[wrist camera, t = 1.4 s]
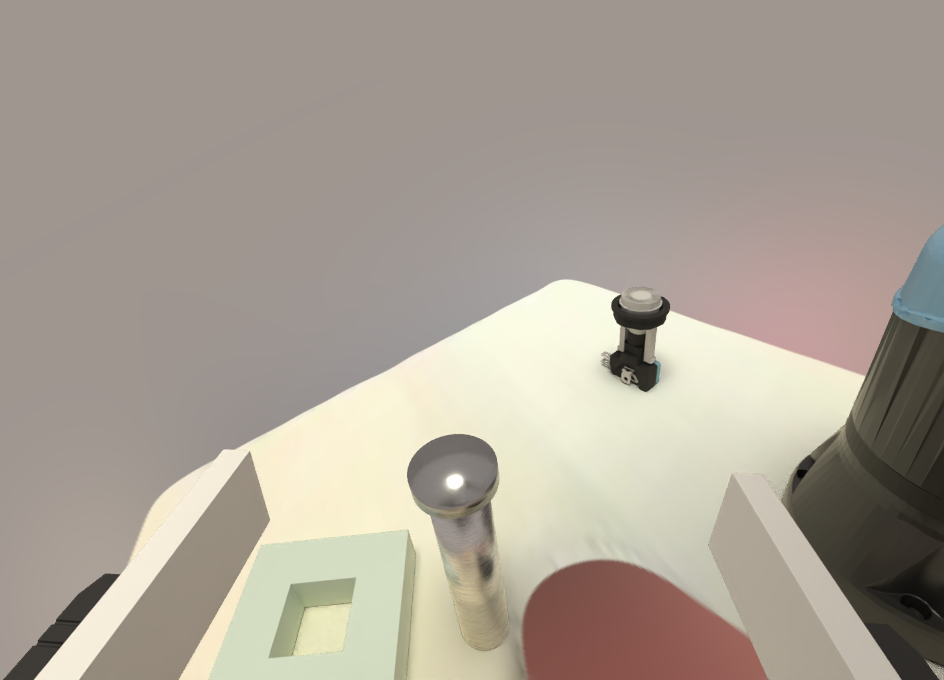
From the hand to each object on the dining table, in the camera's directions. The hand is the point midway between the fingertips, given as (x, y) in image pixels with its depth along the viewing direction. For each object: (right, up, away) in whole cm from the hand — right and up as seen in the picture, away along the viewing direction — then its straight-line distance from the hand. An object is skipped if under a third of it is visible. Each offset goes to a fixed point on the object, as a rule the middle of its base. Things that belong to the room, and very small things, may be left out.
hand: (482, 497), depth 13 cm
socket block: (-10, -16, +18) cm, 26 cm away
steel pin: (+1, -14, +17) cm, 23 cm away
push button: (+17, 0, +37) cm, 41 cm away
